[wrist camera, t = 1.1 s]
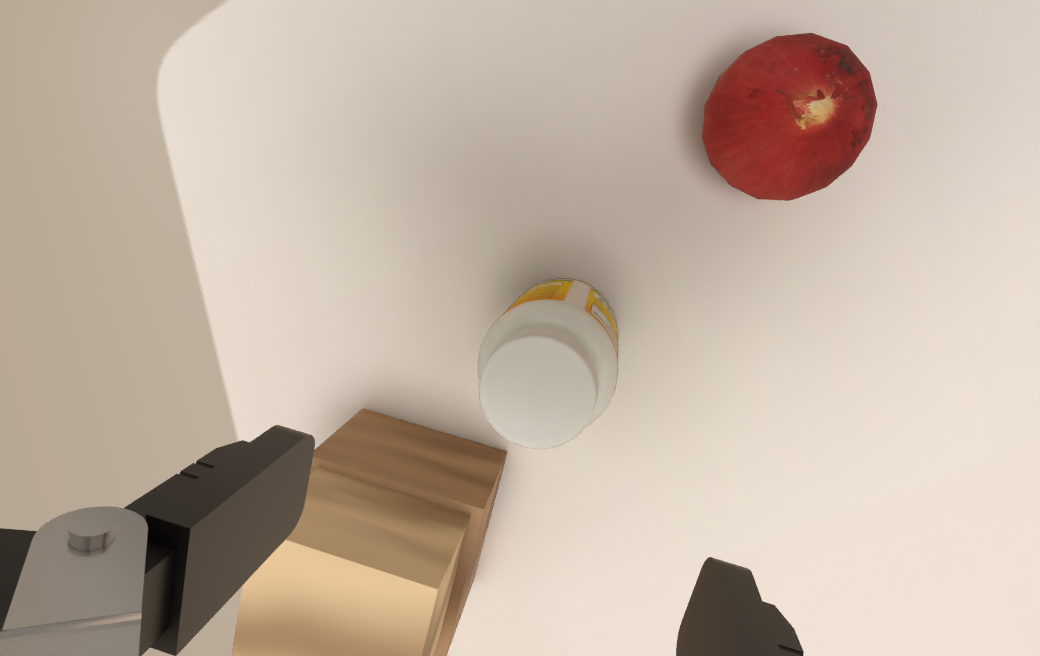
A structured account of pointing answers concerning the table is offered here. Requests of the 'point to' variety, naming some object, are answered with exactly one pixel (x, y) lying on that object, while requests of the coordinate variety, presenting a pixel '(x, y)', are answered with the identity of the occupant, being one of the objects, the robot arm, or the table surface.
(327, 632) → the tower top
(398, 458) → the tower base
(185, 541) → the robot arm
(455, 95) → the table surface
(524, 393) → the supplement bottle
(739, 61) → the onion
